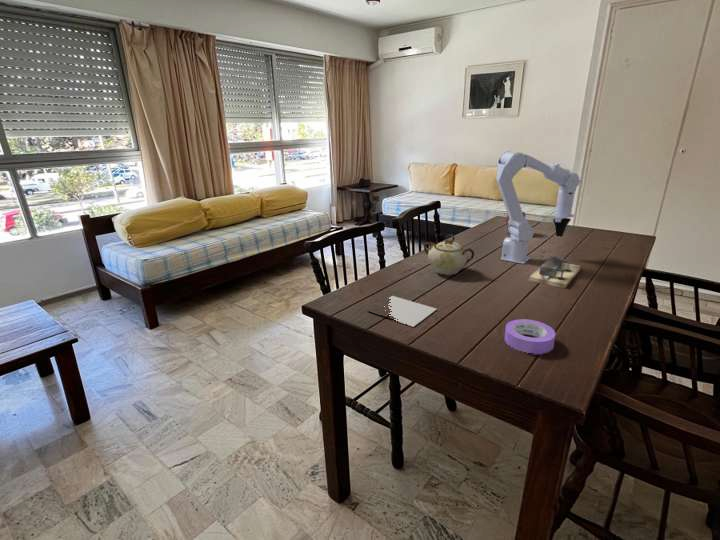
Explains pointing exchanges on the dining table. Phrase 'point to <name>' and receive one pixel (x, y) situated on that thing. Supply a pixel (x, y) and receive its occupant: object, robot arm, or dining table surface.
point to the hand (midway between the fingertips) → (559, 236)
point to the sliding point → (557, 262)
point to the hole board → (554, 279)
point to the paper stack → (408, 311)
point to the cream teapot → (448, 256)
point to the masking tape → (528, 343)
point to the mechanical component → (508, 220)
